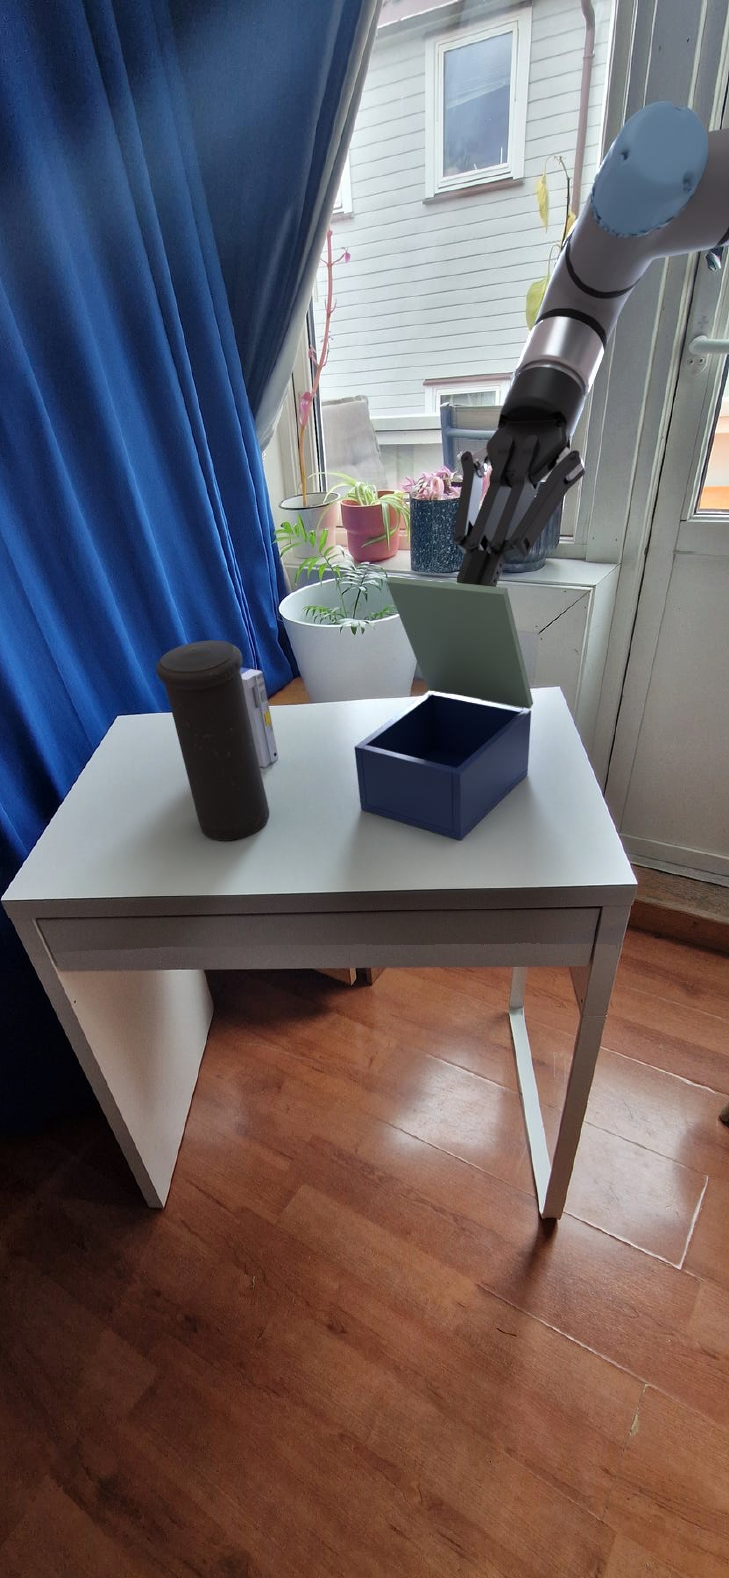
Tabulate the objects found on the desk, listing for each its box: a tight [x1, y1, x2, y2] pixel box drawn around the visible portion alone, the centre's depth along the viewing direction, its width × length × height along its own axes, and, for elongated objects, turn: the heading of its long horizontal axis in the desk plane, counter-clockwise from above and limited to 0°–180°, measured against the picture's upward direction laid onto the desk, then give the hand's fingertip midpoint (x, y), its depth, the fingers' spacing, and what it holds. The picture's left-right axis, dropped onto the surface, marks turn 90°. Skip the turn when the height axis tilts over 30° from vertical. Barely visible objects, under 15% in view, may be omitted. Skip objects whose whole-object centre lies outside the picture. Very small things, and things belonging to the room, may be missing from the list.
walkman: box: [240, 666, 279, 768], centre depth 94 cm, size 8×3×12 cm, turn 52°
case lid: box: [385, 576, 534, 710], centre depth 78 cm, size 16×13×1 cm
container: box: [156, 639, 270, 841], centre depth 80 cm, size 9×9×20 cm
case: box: [354, 690, 532, 841], centre depth 83 cm, size 15×13×8 cm
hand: (462, 619), depth 76 cm, fingers closed
